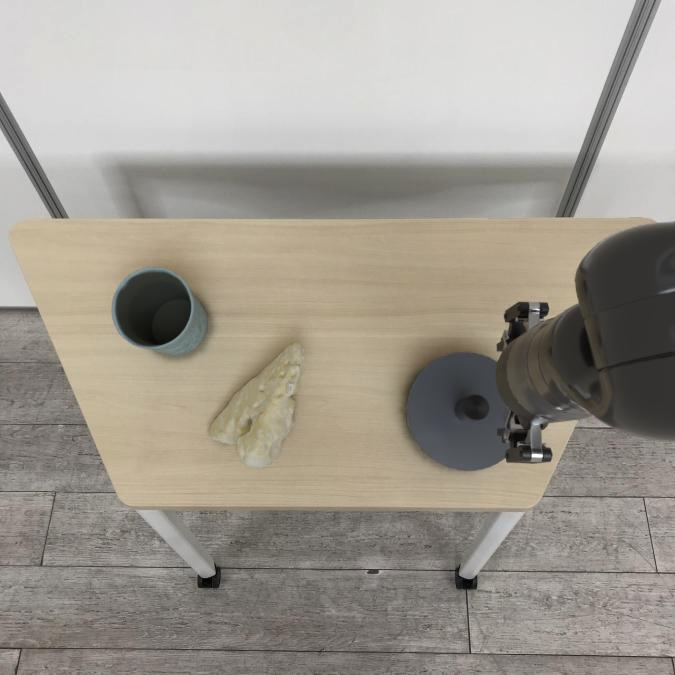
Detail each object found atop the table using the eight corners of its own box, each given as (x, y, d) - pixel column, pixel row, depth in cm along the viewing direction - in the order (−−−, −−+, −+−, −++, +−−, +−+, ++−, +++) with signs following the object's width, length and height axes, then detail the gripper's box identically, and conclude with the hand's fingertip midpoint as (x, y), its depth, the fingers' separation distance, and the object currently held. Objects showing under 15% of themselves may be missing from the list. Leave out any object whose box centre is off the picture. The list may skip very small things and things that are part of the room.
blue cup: (163, 280, 87) (134, 254, 75) (227, 307, 86) (207, 286, 74) (131, 344, 86) (96, 328, 74) (196, 373, 85) (170, 361, 73)
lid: (523, 355, 79) (540, 346, 72) (524, 473, 76) (541, 476, 69) (407, 351, 79) (413, 341, 72) (405, 467, 76) (410, 470, 69)
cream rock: (240, 482, 84) (321, 472, 75) (198, 467, 79) (278, 454, 70) (259, 380, 91) (335, 359, 82) (221, 361, 86) (297, 336, 77)
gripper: (612, 470, 45) (545, 463, 61) (605, 280, 47) (542, 322, 63) (508, 466, 45) (469, 460, 61) (506, 278, 47) (469, 319, 63)
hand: (506, 389), depth 62 cm, fingers open, 8 cm apart
